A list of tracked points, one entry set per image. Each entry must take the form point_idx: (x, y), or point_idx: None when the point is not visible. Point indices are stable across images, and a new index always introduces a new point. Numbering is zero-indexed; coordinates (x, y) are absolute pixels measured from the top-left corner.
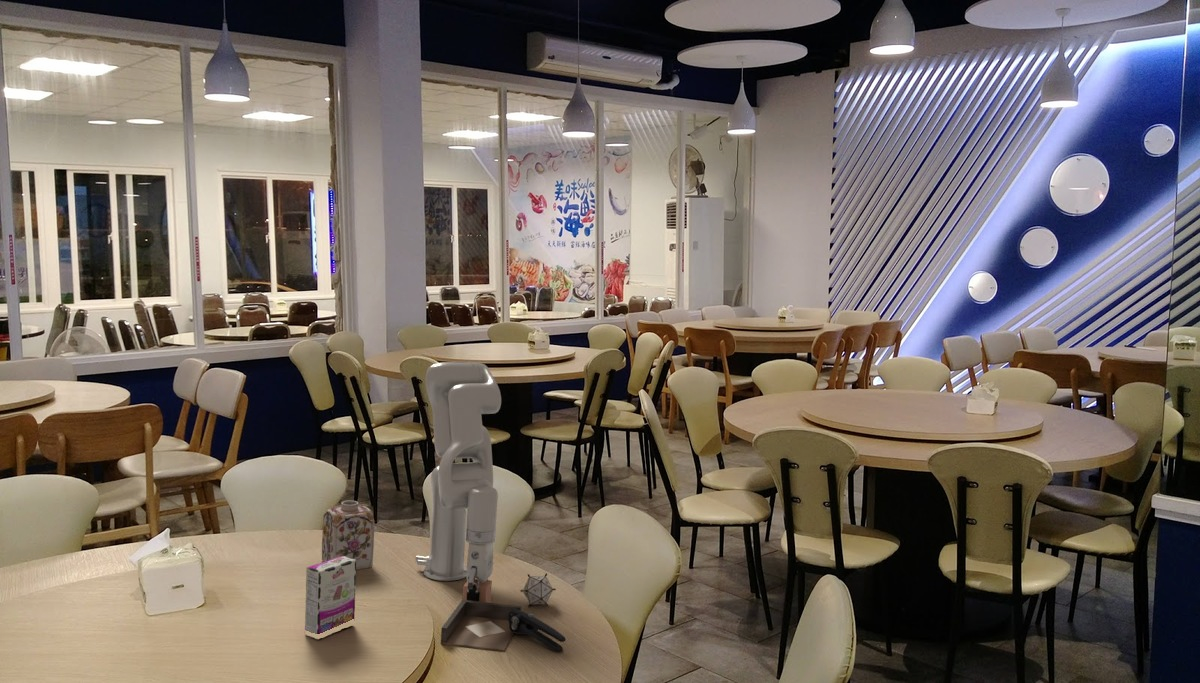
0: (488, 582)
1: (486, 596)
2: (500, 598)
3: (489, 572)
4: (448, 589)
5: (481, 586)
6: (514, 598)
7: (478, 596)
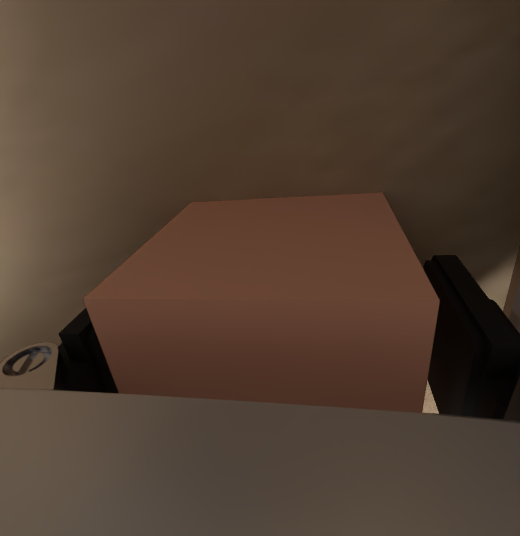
0: (174, 323)
1: (369, 239)
2: (78, 151)
3: (161, 501)
4: None
5: (361, 373)
6: (2, 24)
7: (496, 320)
